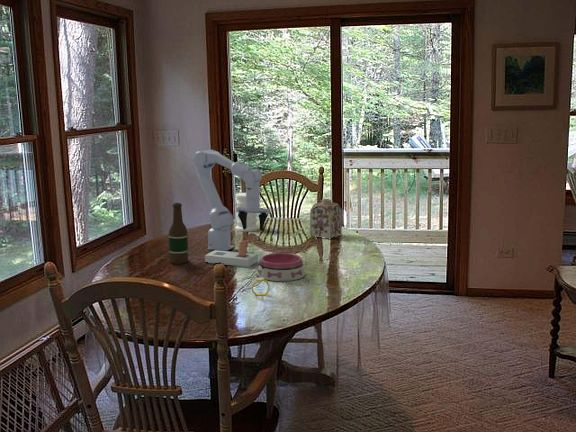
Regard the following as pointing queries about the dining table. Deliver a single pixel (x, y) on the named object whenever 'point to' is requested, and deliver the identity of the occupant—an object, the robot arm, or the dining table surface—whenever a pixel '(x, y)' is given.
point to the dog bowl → (281, 267)
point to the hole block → (230, 258)
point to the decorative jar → (325, 219)
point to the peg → (242, 249)
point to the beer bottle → (178, 237)
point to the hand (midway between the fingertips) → (253, 229)
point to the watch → (260, 281)
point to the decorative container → (250, 216)
